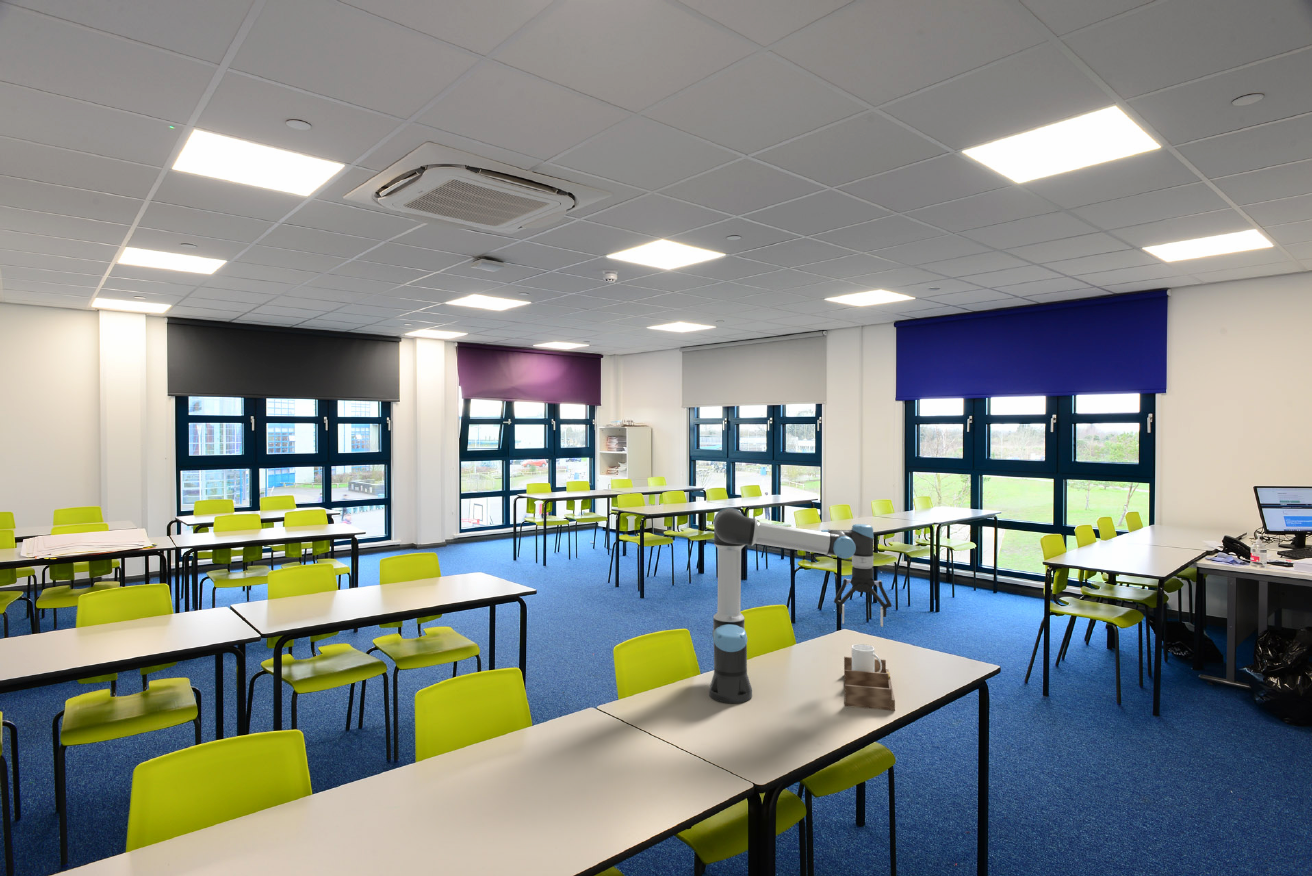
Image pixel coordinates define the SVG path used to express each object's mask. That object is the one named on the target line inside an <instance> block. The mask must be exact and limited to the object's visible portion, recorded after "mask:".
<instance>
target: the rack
mask: <svg viewBox="0 0 1312 876" xmlns="http://www.w3.org/2000/svg"><path fill="white" fill-rule="evenodd" d="M843 659H844V661H843V667H844V669H843V670H844V671H843V672H844V673H843V674H844V681H843V682H844V706H845V707H851V708H860V709H861V708H862V709H863V708H864V709H872V710H875V709H876V710H881V711H882V710H883V711H896V699H895V698H896V697H895V694H894V690H893V685H892V681H891V672H890V670H889V669H888V668H887V667H886V666H887V665H886V663H887V662H886V661H887V660H886V659H882V658H881V659H880V658H879V659H880V660H881V663H882V670H881V672H880V673H878V672H879V670H880V663H879V661H878V659H877V658H875V672H866V671H853V670H852V656H844V657H843Z"/></svg>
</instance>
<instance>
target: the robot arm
mask: <svg viewBox="0 0 1312 876" xmlns="http://www.w3.org/2000/svg"><path fill="white" fill-rule="evenodd" d="M851 526H852V527H851V529H829V528H828V529H822V530H820V531H818V530H812V529H811V530H810V529H804V528H797V527H793V526H792V527H791V526H786V525H785V526H784V525H779V524H773V523H772V524H771V523H765V522H759V521H758V520H757V519H756V518H751V517H747V516H744V514H743V512H741V510H739V509H737V508H735V507H725V508H722V509H720V510H719V511H718V512H717V513H716V514H715V515H714V518H713V527H714V528H713V531H714V533H713V536H714V537H713V544H714V546H715V547H716V548H717V612H716V613H715V614H713V620H712V621H713V622H712V623H713V626H712V627H713V629H712V641H713V676H712V679H711V680H710V681H711V682H710V685H709V692H708V693H709V697H710V698H711V699H713V700H714V701H716V702H719V703H724V704H726V703H727V704H740V703H744V702H747V701H749V700H751V699H752V697H753V688H752V685H751V682H750V679H749V675H748V650H747V649H748V647H747V646H748V644H747V643H748V636H747V632H746V630H745V616H744V615H743V613H741V609H742V608H741V597H742V595H741V594H742V591H741V590H742V589H741V587H742V586H741V585H742V582H741V581H742V549H743V548H744V547H745V546H750V547H751V546H752V547H753V546H754V545H755V544H757V545H764V546H771V547H778V548H783V549H790V550H795V551H796V550H797V551H804V552H811V553H816V554H817V553H818V554H824V555H829V556H835V557H838V558H840V559H843V560H844V559H845V560H846V559H850V558H851V565H852V567H851V579H848V578H846V577H844V578H843V579H842V584H841V587H840V588H839V590H838V591H837V593H836V596H835V597H834V599H833V603H834V604H837V605H838V613H839V615H841V619H842V620H841V624H843V625H844V624H845V603H846V602H847V600H848V599H850V597H851V596H852V595H853V594H854V593H856V592H857V593H865V594H866V593H870V594H871V595H872V596H873V597H874V599H875V600H876V601H877V602H878V604H879V605H880V619H879V620H880V627H881V628H883V627H884V618H886V617H887V609H888V608H892V603H891V600H890V597H888V594H887V593H886V591H885V589H884V586H883V581H882V580H881V579H879V580H874V568H873V567H874V539H875V536H874V527H873V526H872V525H871V524H870V525H869V524H865V523H862V524H861V523H858V524H857V523H856V524H852V525H851ZM849 584H851V585H852V587H851V588H850V589H849V590H848V592H847V593H846V594H845V595H844V596H842V594H843V593H844V591H845V589H846V587H847V586H848V585H849ZM875 585H876V587H877V588H878V589H879V591H880V592H881V594H882V596H883V599H884V600H885V602H886V603H885V602H884V601H883V599H882V598H881V597H880V596H879V594H878V593H877V592H876V591H875V590H874V589H873V587H874V586H875ZM841 597H842V598H841ZM840 598H841V599H840Z"/></svg>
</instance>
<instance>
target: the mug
mask: <svg viewBox="0 0 1312 876" xmlns="http://www.w3.org/2000/svg"><path fill="white" fill-rule="evenodd" d="M851 657H852V670H853V671H866V672H875V659H878V661H879V663H880V670H879V672H878V673H880V672H881V670H882V663H881V660H880V658H879V656H878V655H877V654H876V653H875V647H874V646H872V645H869V644H864V643H858V644H856V643H855V644H852V645H851Z"/></svg>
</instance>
